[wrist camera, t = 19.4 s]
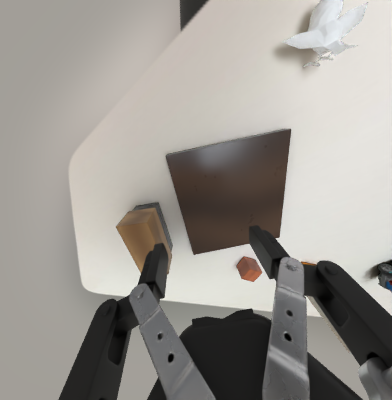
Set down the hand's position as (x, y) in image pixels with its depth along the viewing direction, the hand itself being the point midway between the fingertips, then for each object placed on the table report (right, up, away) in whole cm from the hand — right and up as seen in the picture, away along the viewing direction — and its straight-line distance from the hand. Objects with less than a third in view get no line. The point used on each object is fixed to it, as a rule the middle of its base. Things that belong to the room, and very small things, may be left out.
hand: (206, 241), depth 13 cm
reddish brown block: (+11, -11, +16) cm, 22 cm away
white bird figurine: (+11, +21, +2) cm, 24 cm away
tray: (+5, +4, +10) cm, 11 cm away
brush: (-8, -1, +11) cm, 13 cm away
